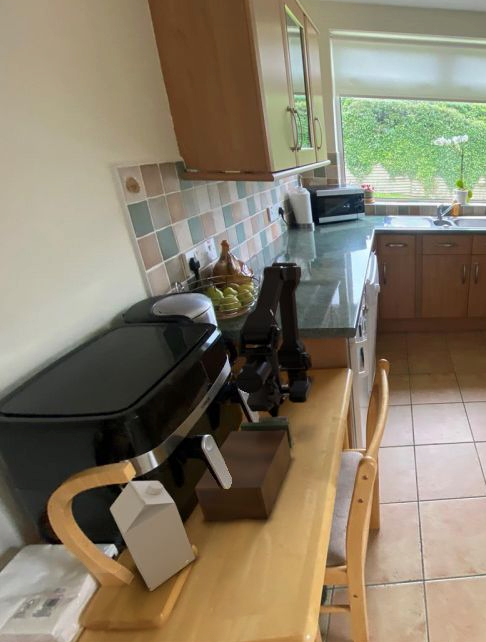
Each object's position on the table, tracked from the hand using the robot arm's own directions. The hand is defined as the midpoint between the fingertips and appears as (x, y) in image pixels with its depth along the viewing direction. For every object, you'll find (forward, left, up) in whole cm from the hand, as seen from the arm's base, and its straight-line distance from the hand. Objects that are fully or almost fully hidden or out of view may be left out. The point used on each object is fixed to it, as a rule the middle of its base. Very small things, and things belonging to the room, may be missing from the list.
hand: (276, 418), depth 97 cm
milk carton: (+33, -9, -5) cm, 35 cm away
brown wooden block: (+17, 0, -5) cm, 18 cm away
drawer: (+10, 0, -4) cm, 11 cm away
